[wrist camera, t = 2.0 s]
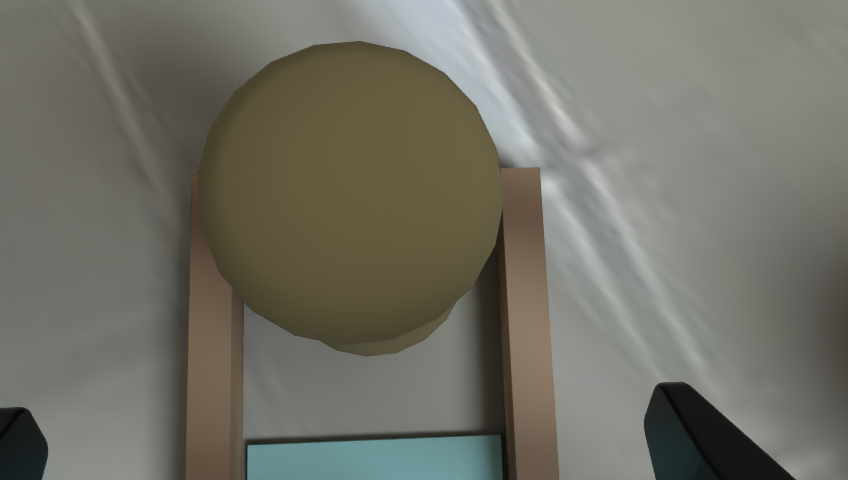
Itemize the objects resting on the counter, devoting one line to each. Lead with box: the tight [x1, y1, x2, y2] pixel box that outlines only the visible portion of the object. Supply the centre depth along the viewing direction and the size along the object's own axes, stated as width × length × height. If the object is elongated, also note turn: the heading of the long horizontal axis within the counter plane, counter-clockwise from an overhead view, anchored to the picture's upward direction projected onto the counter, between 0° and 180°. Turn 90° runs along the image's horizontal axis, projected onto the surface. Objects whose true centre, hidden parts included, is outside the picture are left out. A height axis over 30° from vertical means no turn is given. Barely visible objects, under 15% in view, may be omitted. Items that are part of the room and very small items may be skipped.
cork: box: [197, 41, 504, 356], centre depth 15 cm, size 6×6×11 cm
